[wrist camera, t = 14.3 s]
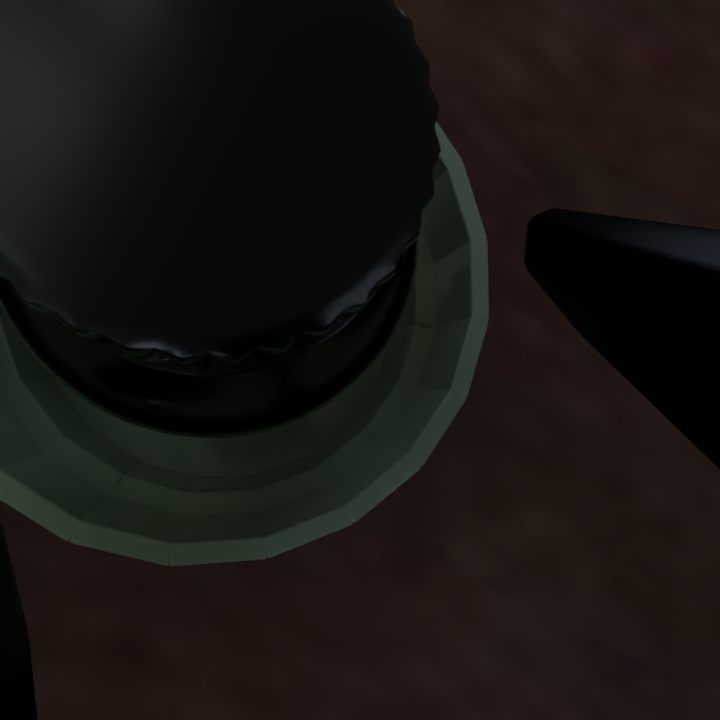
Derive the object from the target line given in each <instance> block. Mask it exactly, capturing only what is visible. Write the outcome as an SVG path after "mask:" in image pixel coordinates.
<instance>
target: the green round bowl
mask: <svg viewBox="0 0 720 720" xmlns="http://www.w3.org/2000/svg"><path fill="white" fill-rule="evenodd" d="M435 131H436V135H437V137H438V139H439V144H440V148H441V152H440V154H439V157H438V159H437V162H436V164H435V166H434V167H433V169H432V173H433V180H434V192H435V193H434V196H433V198H432V199H431V201H430V202H429V204H428V205H427V206H426V208H425V209H424V210H423V211H422V218H421V228H420V234H419V236H418V257H417V267H416V273H415V278H414V283H413V288H412V291H411V295H410V298H409V301H408V304H407V307H406V310H405V312H404V314H403V317H402V319H401V322H400V324H399V326H398V328H397V330H396V332H395V333H394V335H393V337H392V339H391V341H390V342H389V344H388V345H387V347H386V348H385V350H384V351H383V353H382V354H381V356H380V357H379V358H378V360H377V361H376V362H375V363H374V364H373V366H372V367H371V368H370V369H369V370H368V372H367V373H366V374H365V375H364V376H363V377H362V378H361V379H360V380H359V381H358V382H357V383H356V384H355V385H353V386H352V387H351V388H350V389H349V390H347V391H346V392H345V393H344V394H342V395H341V396H340V397H339V398H337V399H336V400H334V401H333V402H331V403H330V404H328V405H326V406H325V407H323V408H322V409H320V410H318V411H316V412H314V413H312V414H311V415H309V416H307V417H305V418H303V419H300V420H298V421H295V422H293V423H290V424H288V425H285V426H282V427H279V428H276V429H272V430H269V431H266V432H261V433H256V434H251V435H245V436H237V437H226V438H197V437H186V436H177V435H172V434H166V433H161V432H156V431H153V430H149V429H146V428H142V427H139V426H136V425H133V424H130V423H128V422H125V421H123V420H120V419H118V418H115V417H113V416H111V415H109V414H107V413H105V412H103V411H101V410H99V409H98V408H96V407H94V406H92V405H91V404H89V403H87V402H86V401H84V400H83V399H81V398H80V397H78V396H77V395H75V394H74V393H72V392H71V391H70V390H69V389H67V388H66V387H65V386H63V385H62V384H61V383H60V382H58V381H57V380H56V379H55V378H54V377H53V376H52V375H51V374H50V373H49V372H48V371H47V370H46V369H45V368H44V367H43V366H42V365H40V364H39V362H38V361H37V360H36V359H35V358H34V356H33V355H32V354H31V353H30V352H29V350H28V349H27V348H26V347H25V346H24V344H23V343H22V342H21V340H20V339H19V337H18V336H17V334H16V333H15V331H14V330H13V328H12V327H11V325H10V324H9V322H8V320H7V318H6V316H5V314H4V312H3V311H2V309H1V307H0V500H1V501H2V502H4V503H6V504H7V505H9V506H10V507H12V508H14V509H15V510H17V511H18V512H20V513H22V514H23V515H25V516H27V517H28V518H30V519H31V520H33V521H35V522H36V523H38V524H39V525H41V526H43V527H44V528H46V529H48V530H49V531H51V532H52V533H54V534H56V535H57V536H59V537H60V538H62V539H64V540H65V541H70V543H72V544H76V545H80V546H85V547H89V548H93V549H97V550H101V551H106V552H110V553H114V554H118V555H122V556H127V557H131V558H135V559H139V560H143V561H147V562H152V563H156V564H160V565H164V566H169V564H170V566H185V565H198V564H211V563H224V562H237V561H250V560H263V559H266V558H271V557H274V556H276V555H279V554H281V553H284V552H286V551H289V550H291V549H294V548H296V547H299V546H301V545H304V544H306V543H309V542H311V541H313V540H316V539H318V538H321V537H323V536H326V535H328V534H331V533H333V532H336V531H338V530H341V529H343V528H346V527H348V526H351V525H352V523H356V522H357V521H358V520H359V519H361V518H362V517H363V516H364V515H365V514H367V513H368V512H369V511H370V510H372V509H373V508H374V507H375V506H376V505H378V504H379V503H380V502H381V501H382V500H384V499H385V498H386V497H387V496H389V495H390V494H391V493H392V492H393V491H395V490H396V489H397V488H398V487H399V486H401V485H402V484H403V483H404V482H406V481H407V480H408V479H409V478H410V477H412V476H413V475H414V474H415V473H416V472H418V471H419V470H420V468H421V467H423V465H424V463H425V462H426V460H427V459H428V457H429V456H430V454H431V453H432V451H433V450H434V448H435V447H436V445H437V444H438V442H439V440H440V439H441V437H442V436H443V434H444V433H445V431H446V430H447V428H448V427H449V425H450V424H451V422H452V420H453V419H454V417H455V416H456V414H457V413H458V411H459V410H460V408H461V407H462V405H463V404H464V402H465V401H466V397H467V396H468V393H469V389H470V386H471V382H472V379H473V375H474V371H475V368H476V364H477V361H478V357H479V354H480V350H481V347H482V343H483V340H484V336H485V333H486V329H487V325H488V319H489V290H488V241H487V240H486V239H487V236H486V233H485V230H484V227H483V223H482V220H481V217H480V214H479V211H478V208H477V205H476V201H475V198H474V195H473V192H472V189H471V186H470V183H469V179H468V176H467V173H466V170H465V167H464V164H463V163H462V159H461V158H460V156H459V155H458V153H457V152H456V150H455V149H454V147H453V146H452V144H451V143H450V141H449V140H448V138H447V137H446V135H445V134H444V132H443V131H442V129H441V128H440V126H439V125H438V123H437V122H436V124H435Z"/></svg>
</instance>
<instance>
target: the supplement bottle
mask: <svg viewBox="0 0 720 720" xmlns="http://www.w3.org/2000/svg"><path fill="white" fill-rule="evenodd" d="M429 76H430V68H429V62H428V60H427V59H426V57H425V55H424V54H423V53H422V51H421V50H420V48H419V47H418V46H417V44H416V43H415V36H414V30H413V25H412V21H411V20H410V19H409V18H408V17H407V15H406V14H405V13H404V12H402V11H401V10H400V9H399V8H398V7H397V6H396V5H395V4H394V1H393V0H0V307H1V309H2V311H3V312H4V314H5V316H6V318H7V320H8V322H9V324H10V325H11V327H12V328H13V330H14V331H15V333H16V334H17V336H18V337H19V339H20V340H21V342H22V343H23V344H24V346H25V347H26V348H27V349H28V350H29V352H30V353H31V354H32V355H33V356H34V358H35V359H36V360H37V361H38V362H39V364H40V365H42V366H43V367H44V368H45V369H46V370H47V371H48V372H49V373H50V374H51V375H52V376H53V377H54V378H55V379H56V380H57V381H58V382H60V383H61V384H62V385H63V386H65V387H66V388H67V389H69V390H70V391H71V392H72V393H74V394H75V395H77V396H78V397H80V398H81V399H83V400H84V401H86V402H87V403H89V404H91V405H92V406H94V407H96V408H98V409H99V410H101V411H103V412H105V413H107V414H109V415H111V416H113V417H115V418H118V419H120V420H123V421H125V422H128V423H130V424H133V425H136V426H139V427H142V428H146V429H149V430H153V431H156V432H161V433H166V434H172V435H177V436H186V437H197V438H226V437H237V436H245V435H251V434H256V433H261V432H266V431H269V430H272V429H276V428H279V427H282V426H285V425H288V424H290V423H293V422H295V421H298V420H300V419H303V418H305V417H307V416H309V415H311V414H312V413H314V412H316V411H318V410H320V409H322V408H323V407H325V406H326V405H328V404H330V403H331V402H333V401H334V400H336V399H337V398H339V397H340V396H341V395H342V394H344V393H345V392H346V391H347V390H349V389H350V388H351V387H352V386H353V385H355V384H356V383H357V382H358V381H359V380H360V379H361V378H362V377H363V376H364V375H365V374H366V373H367V372H368V370H369V369H370V368H371V367H372V366H373V364H374V363H375V362H376V361H377V360H378V358H379V357H380V356H381V354H382V353H383V351H384V350H385V348H386V347H387V345H388V344H389V342H390V341H391V339H392V337H393V335H394V333H395V332H396V330H397V328H398V326H399V324H400V322H401V319H402V317H403V314H404V312H405V310H406V307H407V304H408V301H409V298H410V295H411V291H412V288H413V283H414V278H415V273H416V267H417V257H418V236H419V234H420V228H421V218H422V211H423V210H424V209H425V208H426V206H427V205H428V204H429V202H430V201H431V199H432V198H433V196H434V193H435V192H434V180H433V173H432V169H433V167H434V166H435V164H436V162H437V159H438V157H439V154H440V152H441V148H440V144H439V139H438V137H437V135H436V131H435V124H436V120H437V117H438V111H439V105H438V102H437V100H436V98H435V96H434V94H433V93H432V90H431V88H430V86H429Z"/></svg>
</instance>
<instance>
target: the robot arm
mask: <svg viewBox="0 0 720 720" xmlns="http://www.w3.org/2000/svg"><path fill="white" fill-rule="evenodd" d="M524 261H525V265H526V268H527V270H528V272H529V273H530V275H531V276H532V277H533V278H534V280H535V281H536V282H537V283H538V284H539V286H540V287H541V288H542V289H543V290H544V292H545V293H546V294H547V295H548V296H549V298H550V299H551V300H552V301H553V302H554V304H555V305H556V306H557V307H558V308H559V310H560V311H561V312H562V313H563V314H564V316H565V317H566V318H567V319H568V320H569V322H570V323H571V324H572V325H573V326H574V327H575V328H576V330H577V331H578V332H579V333H580V334H581V335H582V336H583V337H584V338H585V339H586V340H587V341H588V342H589V343H590V344H591V345H592V346H593V347H594V348H595V349H596V350H597V351H598V352H599V353H600V354H601V355H602V356H603V357H604V358H605V359H606V360H607V361H608V362H609V363H610V364H611V365H612V366H613V367H614V368H616V369H617V370H618V371H619V372H620V373H621V374H622V375H623V376H624V377H625V378H626V379H627V380H628V381H629V382H630V383H631V384H632V385H633V386H634V387H635V388H636V389H637V390H638V391H639V392H640V393H641V394H642V395H643V396H645V397H646V398H647V399H648V400H649V401H650V402H651V403H652V404H653V405H654V406H655V407H656V408H657V409H658V410H659V411H660V412H661V413H662V414H663V415H664V416H665V417H666V418H667V419H668V420H669V421H670V422H671V423H672V424H674V425H675V426H676V427H677V428H678V429H679V430H680V431H681V432H682V433H683V434H684V435H685V436H686V437H687V438H688V439H689V440H690V441H691V442H692V443H693V444H694V445H695V446H696V447H697V448H698V449H699V450H700V451H701V452H703V453H704V454H705V455H706V456H707V457H708V458H709V459H710V460H711V461H712V462H713V463H714V464H715V465H716V466H717V467H718V468H719V469H720V230H715V229H707V228H700V227H692V226H685V225H677V224H669V223H662V222H654V221H647V220H639V219H632V218H624V217H617V216H609V215H601V214H594V213H586V212H579V211H571V210H564V209H555V208H554V209H549V210H546V211H544V212H542V213H540V214H538V215H535V216H534V217H532V218H531V219H530V221H529V223H528V226H527V234H526V245H525V256H524ZM0 720H37V711H36V702H35V693H34V683H33V674H32V664H31V655H30V646H29V639H28V631H27V626H26V621H25V616H24V612H23V608H22V604H21V600H20V596H19V592H18V587H17V583H16V579H15V575H14V571H13V567H12V563H11V559H10V555H9V551H8V547H7V543H6V539H5V535H4V531H3V527H2V525H1V523H0Z"/></svg>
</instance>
